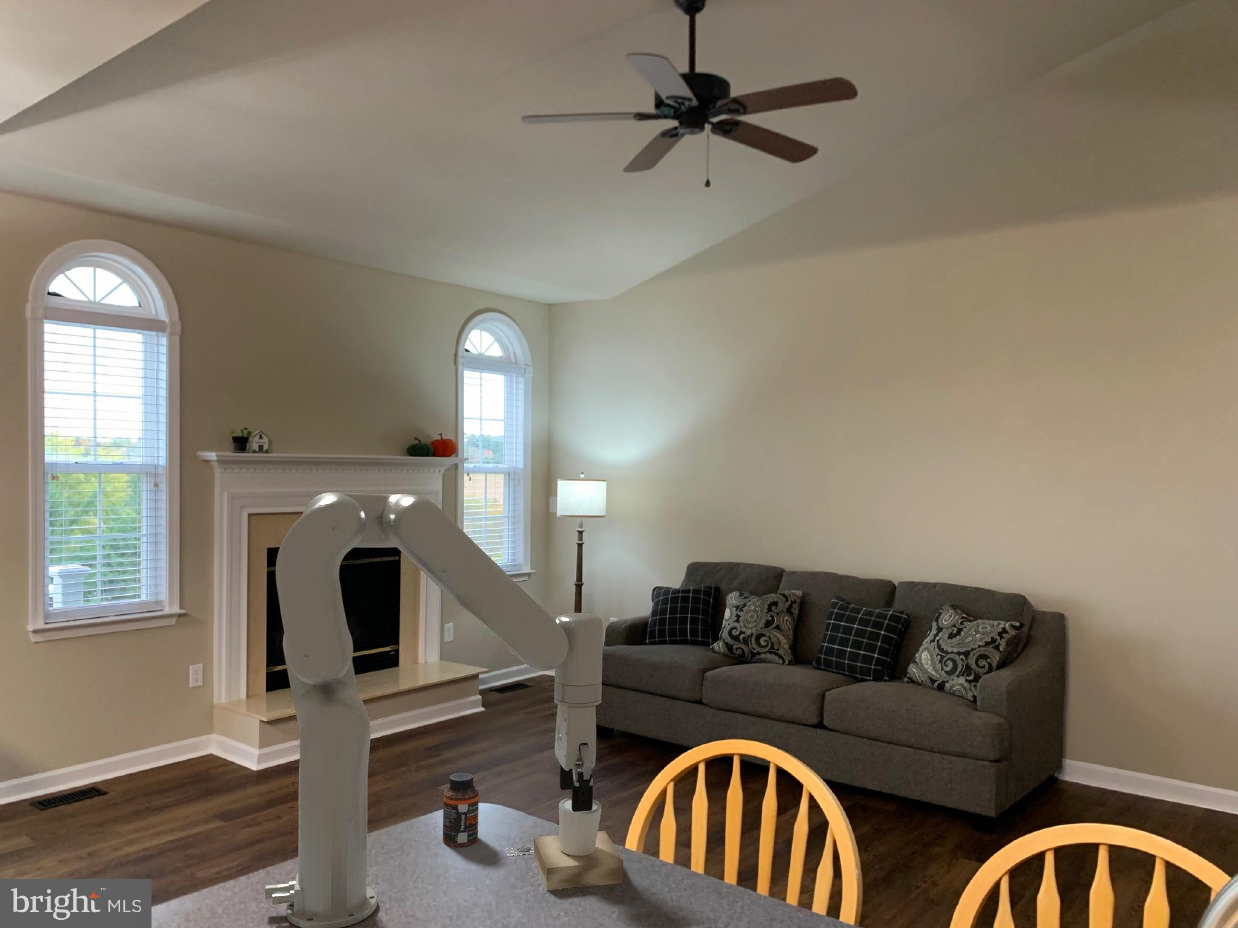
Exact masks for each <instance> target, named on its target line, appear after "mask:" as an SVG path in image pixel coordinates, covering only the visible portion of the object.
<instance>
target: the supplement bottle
mask: <svg viewBox="0 0 1238 928" xmlns="http://www.w3.org/2000/svg"><path fill="white" fill-rule="evenodd" d="M448 785H449V786H448V787H447V788H446V789H444V791H443V802H442V803H443V806H442V807H443V808H442V809H443V811H442V815H443V816H442V842H443V844H444V845H445V846H448V847H451V848H466V847H470V846H473V845H474V844H476V843H477V842H478V838H479V799H480V798H479V794H480V792H479V790H478V788H477V787H475V785H474V775H473V774H472V773H466V772H458V773H457V772H456V773H453V774H451V775H450V776H449V781H448Z"/></svg>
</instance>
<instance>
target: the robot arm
mask: <svg viewBox="0 0 1238 928" xmlns="http://www.w3.org/2000/svg"><path fill="white" fill-rule="evenodd" d="M353 548H397V549H398V550H399V551H400V552H402V554H403V555H405V556H406V557H407V558H408V559H409V560H410V562H412V563H413V564H414V565H415V566H416V567H417V568H418V569H419V570H420V571H422V572H423V573H424V575H425V576H427V577H428V578H429V579H430V580H431V582H432V583H434V584H435V585H436V586H437V587H438V588H439V589H440V590H441V591H442V593H444V594H445V595H446V596H447V597H449V598H450V599H451V600H452V601H453V602H455V604H456V605H458V606H459V607H460V608H461V609H463V610H464V611H465V612H467V613H468V614H470V615H472V616H473V617H475V618H476V619H478V620H479V621H480V622H481V623H483V624H484V625H485V626H486V627H487V628H488V629H489V630H491V632H492V633H494V634H495V635H496V636H498V638H499V639H501V640H502V641H503V642H504V645H505V647H506V649H507V650H508V651H509V652H510V653H511V655H513V656H514V657H515V658H516V659H518V660H519V661H521V662H522V663H524V664H525V665H526V666H527V667H529V668H531V669H532V670H535V671H538V672H548V671H552V670H554V687H553V688H554V690H553V692H554V693H553V697H554V698H553V699H554V703H555V704H557V710H556V723H555V724H556V725H555V737H554V738H555V739H554V755H555V757H556V759H557V761H558V762H559V764H560V765H559V789H560V790H561V791H568V790H569V791H571V798H572V811H573V812H581V811H591V810H592V807H593V800H594V784H593V783H594V781H593V779H594V778H593V772H592V770H593V768H594V767H595V766H596V757H597V756H596V755H597V754H596V752H597V717H596V715H597V714H596V706H598V705H600V704H601V703H602V693H603V692H602V687H603V686H602V682H603V681H602V679H603V651H604V650H603V646H604V645H603V644H604V641H603V640H604V623H603V621H602V618H601V617H600V616H599V615H597V614H593V613H587V612H586V613H584V612H570V613H565V614H549V613H548V612H547V611H546V610H545V609H544V608H543V607H542V606H541V604H539V603H538V602H537V601H536V600H535V599H534V598H533V597H532V596H530V595H529V594H528V593H527V591H525V590H524V589H523V588H522V587H521V586H520V585H519V584H517V583H516V582H515V581H514V579H512V578H511V576H510V575H508V573H507V572H506V571H505V570H504V569H503V568H502V567H501V566H500V565H499V564H498V563H496V562H495V561H494V559H492V558H491V557H490V556H489V555H488V554H487V553H486V552H485V551H484V550H483V549H482V548H481V547H480V546H479V545H478V544H477V543H476V542H475V541H474V540H473V539H472V538H471V537H469V535H468V534H466V532H465V531H464V530H462V528H461V527H460V526H459V525H458V524H456V522H455V521H453V519H452V518H451V517H449V516H448V515H447V514H446V513H445V512H444V511H443V510H442V509H441V507H439V506H438V505H437V503H435V502H433V501H432V500H431V499H429V498H427V497H424V496H421V495H416V494H411V493H397V494H396V493H385V494H384V493H363V492H362V493H359V492H341V491H340V492H339V491H338V492H334V491H333V492H332V491H331V492H324V493H322V494H319V495H316V496H314V497H313V498H312V499H311V500H310V501H309V502H308V503H307V505H305V508H304V509H303V513H302V515H301V516H300V517H299V518H298V519H297V520H296V521H295V522H294V523H293V524H292V526H290V528H289V529H288V531H287V533H286V534H285V536H284V538H283V540H282V543H281V544H280V547H279V550H278V552H277V556H276V557H277V558H276V563H275V582H276V588H277V596H278V601H279V607H280V608H279V609H280V614H281V620H282V625H283V632H284V633H283V638H282V649H283V653H284V654H283V655H284V660H285V664H286V669H287V670H286V671H287V674H288V675H287V676H288V681H289V685H290V686H289V687H290V690H291V696H292V701H293V704H294V711H295V715H296V716H295V717H296V720H297V726H298V733H299V734H298V735H299V763H298V764H299V768H298V839H297V840H298V846H297V847H298V851H297V852H298V855H297V861H298V862H297V863H298V864H297V869H298V870H297V873H296V878H295V879H294V880H293V879H292V880H289V881H288V883H280V884H279V883H274V884H273V883H272V884H266V885H265V887H264V888H265V889H264V890H265V891H264V900H271V905H282V904H286V908H285V915H286V918H287V919H286V920H288V922H290V923H291V924H292V925H294V926H296V927H299V928H345V927H349V926H352V925H354V924H356V923H359V922H361V921H363V920H365V919H367V918H368V917H370V915H372V914H373V912H375V910H376V909H377V907H378V895H377V893H376V891H375V890H374V889H373V888H371V887H370V886H367V879H368V877H367V875H368V873H367V871H368V869H367V868H368V866H367V865H368V863H367V862H368V800H369V799H368V780H369V778H368V775H369V772H368V771H369V758H370V747H371V731H372V730H371V722H370V717H369V713H368V711H367V708H366V706H365V704H364V702H363V700H362V698H361V697H360V694H359V689H358V685H357V679H356V675H355V669H354V664H353V656H354V655H353V653H354V644H353V643H354V642H353V638H352V635H351V632H350V630H349V626H348V623H347V618H346V612H345V608H344V603H343V596H342V588H341V583H340V566H341V563H342V561H343V559H344V557H345V556H346V554H348V553H349V552H350V551H351V550H353Z"/></svg>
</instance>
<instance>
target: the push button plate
mask: <svg viewBox="0 0 1238 928" xmlns="http://www.w3.org/2000/svg"><path fill="white" fill-rule="evenodd" d="M528 846H529V845H523V846H520V847H521V848H517V851H518V852H534V851H530V850H531V849H533V848H530V847H528ZM524 847H527V848H524ZM505 848H506V849H508V848H509V847H505ZM510 848H511V847H510ZM506 849H505V852H508V851H506ZM511 849H513V848H511ZM519 850H520V851H519ZM525 850H526V851H525ZM510 852H514V851H510ZM515 853H517V852H515ZM513 855H514V856H513ZM506 856H507V857H508V856H509V857H517V854H516V855H515V854H511V855H509V854H507V853H506ZM520 856H523V855H522V854H520ZM525 856H529V855H528V854H526V855H525Z"/></svg>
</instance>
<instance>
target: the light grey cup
mask: <svg viewBox="0 0 1238 928" xmlns="http://www.w3.org/2000/svg"><path fill="white" fill-rule="evenodd" d="M602 808H603V807H602V804H601V803H600V802H599V801H597V800H594V799H593V807H592V810H591V811H581V812H573V811H572V797H567V798H564V799H562V800H561V801H560V802H558V819H559V821H558V822H559V824H558V825H559V826H558V827H559V830H558V831H559V835H560V849H561V850H562V851H563V852H564V853H566V854H569V855H574V856H584V855H589V854H591V853H593V852H594V850H595V846H596V839H597V833H598V832H599V828H600V827H599V826H600V822H601V820H600V819H601V815H602Z"/></svg>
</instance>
